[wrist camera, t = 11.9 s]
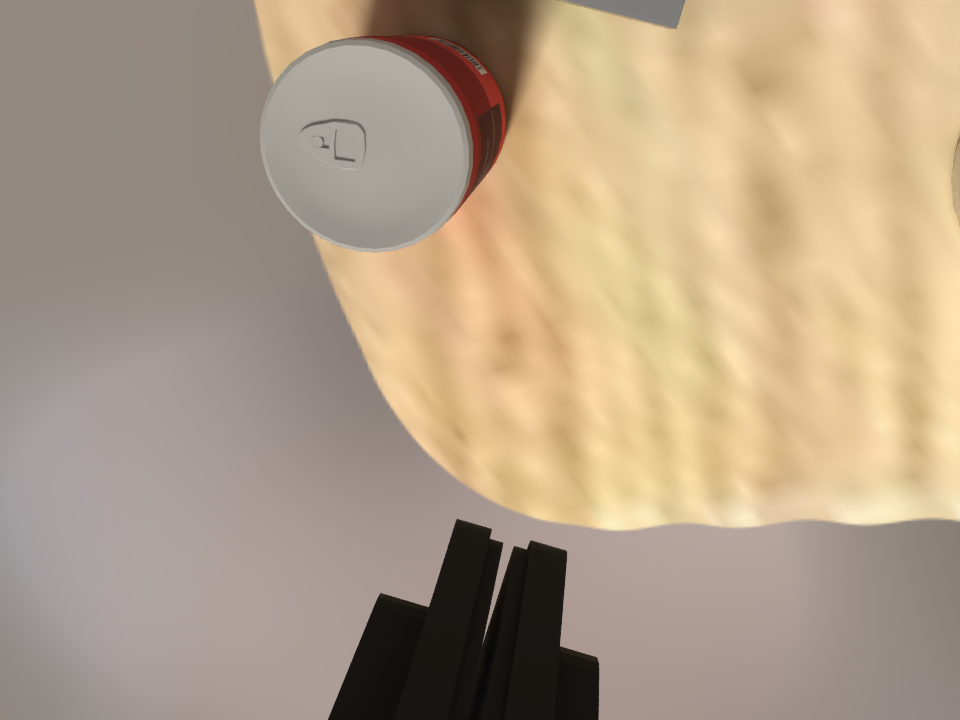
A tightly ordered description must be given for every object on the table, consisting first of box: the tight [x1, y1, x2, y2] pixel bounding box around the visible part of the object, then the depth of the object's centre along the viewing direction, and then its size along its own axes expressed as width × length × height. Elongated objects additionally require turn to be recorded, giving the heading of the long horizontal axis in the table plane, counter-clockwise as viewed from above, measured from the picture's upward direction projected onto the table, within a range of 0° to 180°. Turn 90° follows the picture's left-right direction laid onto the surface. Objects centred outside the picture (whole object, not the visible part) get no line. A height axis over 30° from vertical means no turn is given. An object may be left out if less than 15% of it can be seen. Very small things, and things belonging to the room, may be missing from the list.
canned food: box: [260, 36, 506, 252], centre depth 32 cm, size 8×8×11 cm
